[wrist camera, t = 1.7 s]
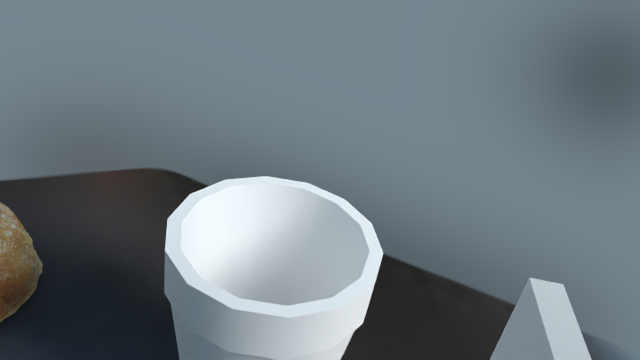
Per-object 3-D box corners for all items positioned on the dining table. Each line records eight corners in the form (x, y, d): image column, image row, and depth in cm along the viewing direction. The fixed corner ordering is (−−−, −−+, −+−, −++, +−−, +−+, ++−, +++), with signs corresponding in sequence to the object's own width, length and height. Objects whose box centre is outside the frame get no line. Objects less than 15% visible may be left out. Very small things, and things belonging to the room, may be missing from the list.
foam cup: (178, 529, 27) (189, 337, 20) (147, 370, 34) (147, 186, 27) (360, 470, 30) (422, 292, 24) (298, 338, 37) (332, 170, 30)
